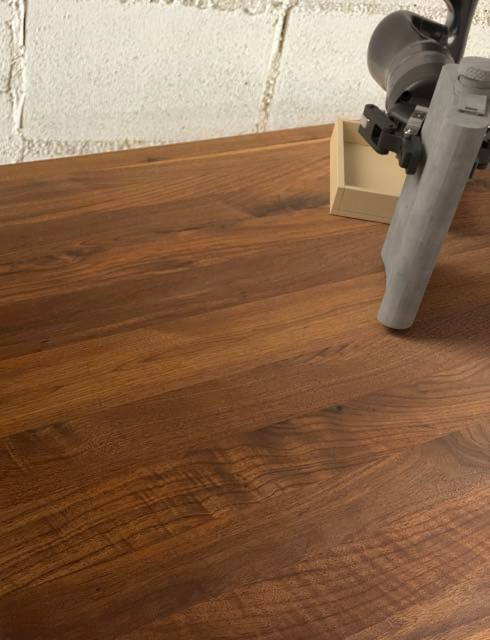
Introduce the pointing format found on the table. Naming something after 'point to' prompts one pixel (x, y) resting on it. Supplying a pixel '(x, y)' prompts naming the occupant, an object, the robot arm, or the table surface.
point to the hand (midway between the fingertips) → (439, 167)
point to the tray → (362, 176)
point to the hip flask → (434, 186)
